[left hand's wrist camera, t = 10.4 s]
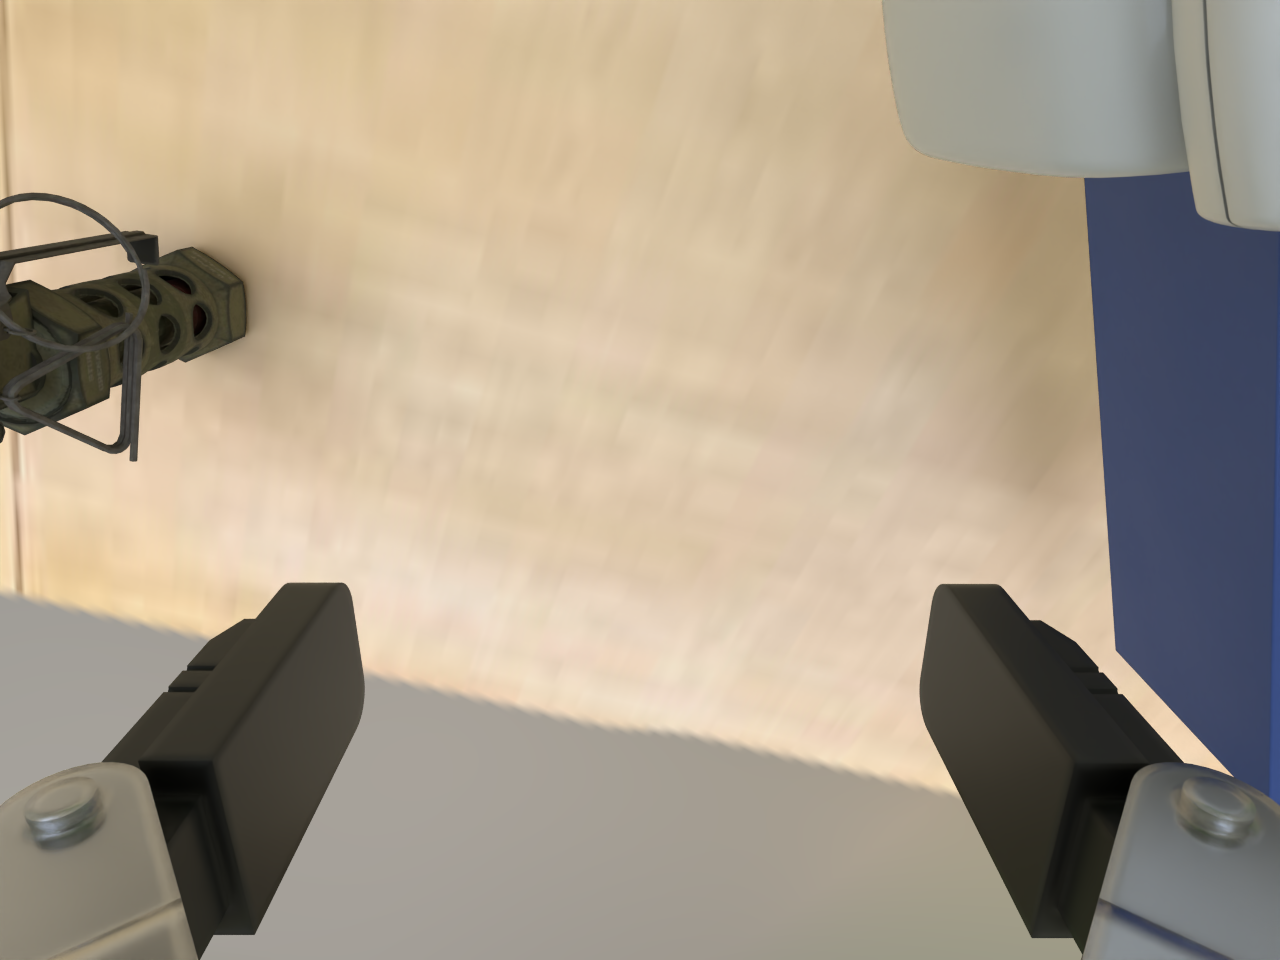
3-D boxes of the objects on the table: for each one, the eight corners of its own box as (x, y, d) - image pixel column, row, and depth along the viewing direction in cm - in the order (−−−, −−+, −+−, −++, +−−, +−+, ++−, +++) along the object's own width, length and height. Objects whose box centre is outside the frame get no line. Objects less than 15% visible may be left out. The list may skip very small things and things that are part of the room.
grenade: (280, 382, 39) (82, 506, 25) (156, 366, 39) (-113, 482, 25) (275, 190, 36) (45, 212, 22) (140, 170, 36) (-179, 179, 22)
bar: (1241, 623, 31) (1441, 784, 23) (1114, 650, 32) (1269, 816, 24) (1242, -217, 21) (1585, -429, 14) (1061, -159, 22) (1290, -330, 14)
